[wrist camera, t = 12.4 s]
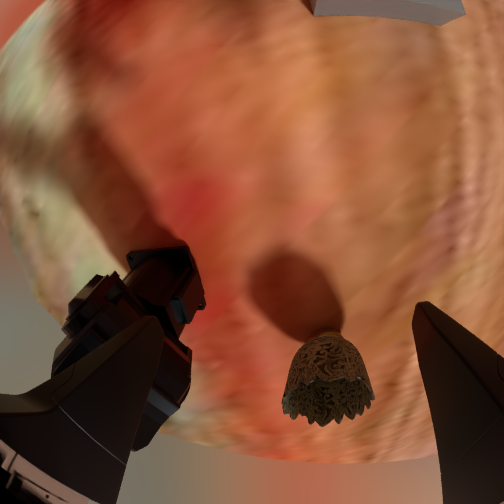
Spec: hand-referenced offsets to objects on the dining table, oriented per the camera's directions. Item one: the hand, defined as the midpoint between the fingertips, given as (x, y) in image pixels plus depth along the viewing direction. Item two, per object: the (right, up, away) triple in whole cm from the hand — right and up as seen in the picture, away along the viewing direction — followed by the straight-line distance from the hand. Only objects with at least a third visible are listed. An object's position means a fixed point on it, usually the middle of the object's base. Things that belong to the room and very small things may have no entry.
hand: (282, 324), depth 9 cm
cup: (+6, -6, +17) cm, 19 cm away
